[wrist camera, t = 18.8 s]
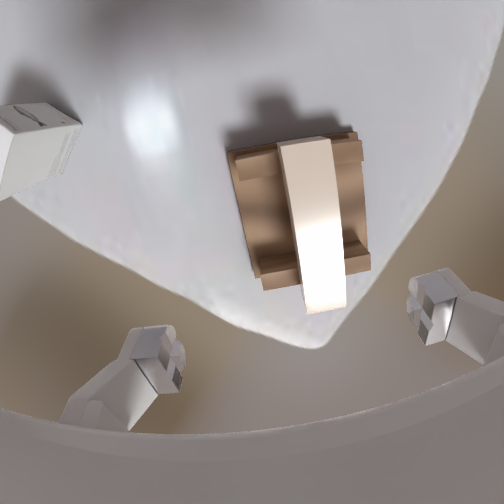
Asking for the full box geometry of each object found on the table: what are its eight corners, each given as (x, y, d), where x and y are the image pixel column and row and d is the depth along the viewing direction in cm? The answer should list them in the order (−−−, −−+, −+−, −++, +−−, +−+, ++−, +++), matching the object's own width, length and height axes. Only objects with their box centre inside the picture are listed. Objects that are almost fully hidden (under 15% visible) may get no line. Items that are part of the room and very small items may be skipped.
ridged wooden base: (227, 152, 31) (223, 157, 26) (353, 131, 29) (370, 134, 25) (255, 273, 37) (255, 296, 32) (364, 252, 36) (378, 272, 31)
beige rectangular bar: (276, 142, 25) (280, 146, 22) (319, 136, 25) (330, 138, 21) (301, 292, 32) (307, 314, 28) (336, 285, 32) (346, 306, 28)
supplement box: (85, 123, 29) (15, 134, 17) (62, 175, 31) (-4, 206, 20) (47, 100, 27) (-23, 106, 15) (27, 150, 29) (-39, 172, 18)
